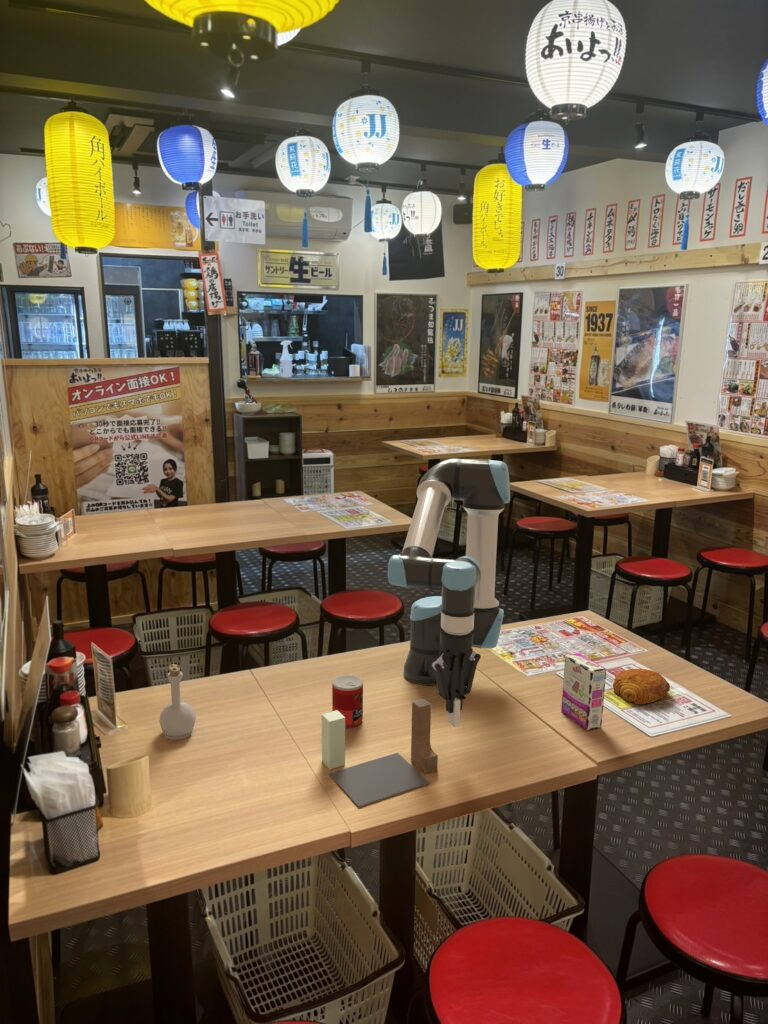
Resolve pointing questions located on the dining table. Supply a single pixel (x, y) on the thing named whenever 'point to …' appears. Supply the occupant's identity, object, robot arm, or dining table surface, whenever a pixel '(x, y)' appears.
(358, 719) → the canned food
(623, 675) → the croissant
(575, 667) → the candy bar box
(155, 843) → the dining table surface
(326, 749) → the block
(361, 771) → the mat
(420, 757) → the wooden block
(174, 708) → the potion bottle
